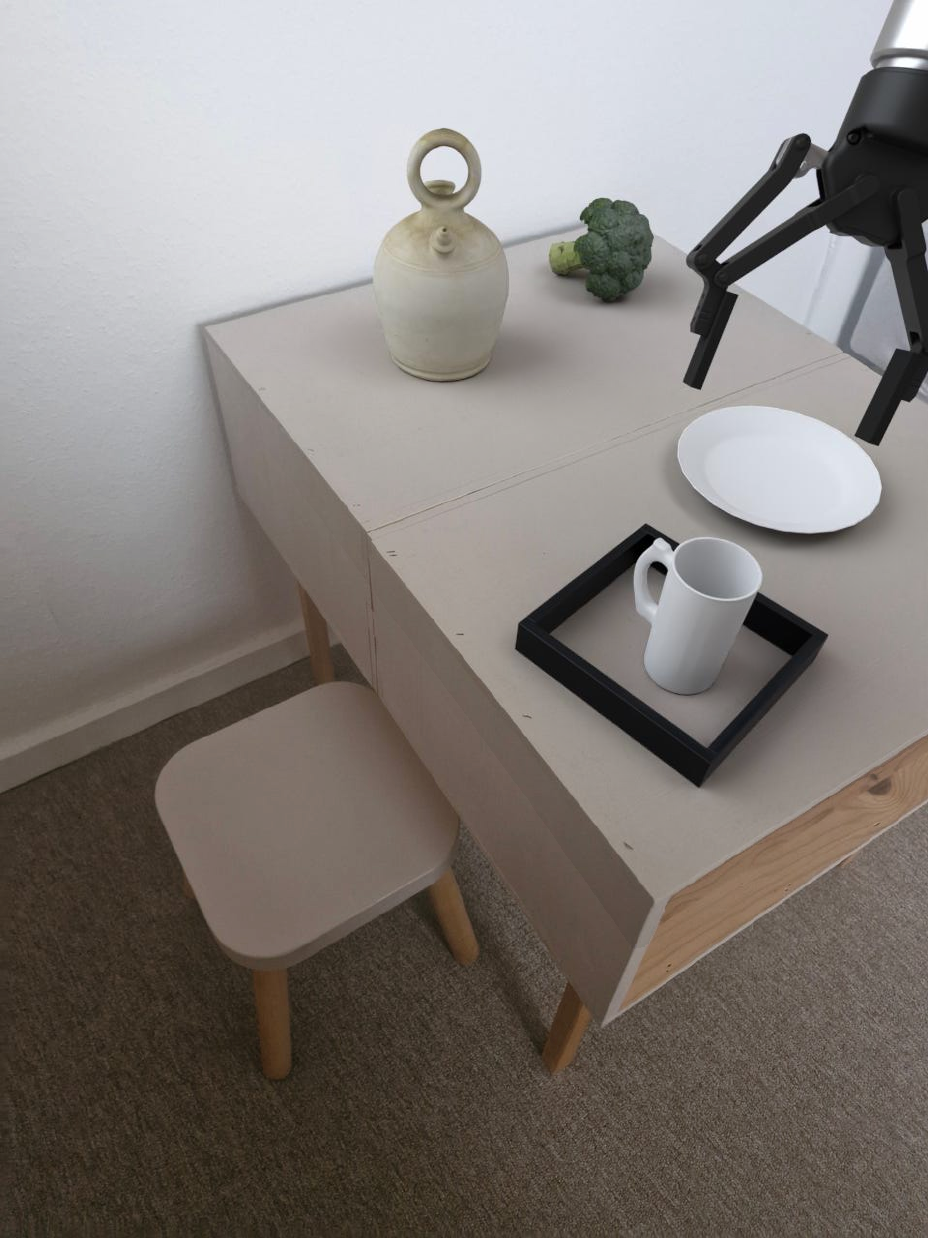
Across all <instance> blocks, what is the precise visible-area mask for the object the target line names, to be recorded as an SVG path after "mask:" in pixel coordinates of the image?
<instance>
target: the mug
mask: <svg viewBox="0 0 928 1238" xmlns="http://www.w3.org/2000/svg"><path fill="white" fill-rule="evenodd" d="M679 544H680V545H679V546H678V547H677V548H676V549H675V551H674V552H673V551H672V549H671V546H670V545H669V544H668V543H667V542H665V541H664V540H663V539H662V538H658V539H656V540H655V541H654V543H653V545H652V546H651V547H649V548H648V549H647V550H646V551H645V552H644V553H643V554H642V555H641V556H640V557H639V559H638V561H637V563H636V564H635V565H634V566H635V567H634V571H633V572H634V573H633V591H634V602H635V610H636V612H637V613H638V614H639V615H640V616H641V617H643V618H644V619H646V621H647V622H648V623H649V624H650V626H651V629H650V633H649V636H648V640H647V643H646V644H647V645H646V647H645V650H644V651H645V652H644V656H643V664H644V669H645V671H646V673H647V675H648V677H650V679H651V680H652V681H653V682H654V683H655V684H656V685H658V686H659V687H661V689H664V690H666V691H668V692H671V693H673V694H677V695H685V696H686V695H696V694H697V695H698V694H700V693H703V692H705V691H707V690H708V689H709V688H710V687H712V685H713V684H714V683H715V681H716V679H717V678H718V675H719V673H720V671H721V669H722V667H723V666H724V664H725V661H726V659H727V657H728V655H729V652H730V651H731V649H732V646H733V645H734V642H735V640H736V638H737V636H738V635H739V632H740V631H741V628H742V626H743V625H742V624H743V622H744V619H745V617H746V615H747V613H748V611H749V609H750V607H751V605H752V603H753V601H754V598H755V596H756V594H757V592H759V589H760V588H761V586H762V583H763V579H764V578H763V577H764V576H763V571H762V568H761V565H760V564H759V562H758V561H757V559H756V558H755V557H754V556H753V554H752V553H750V552H749V551H748V550H747V549H745V548H744V547H743V546H741V545H739V544H737V543H735V542H733V541H731V540H727V539H723V538H719V537H715V536H714V537H713V536H699V537H694V538H690V539H687V540H685V541H683V542H681V543H679ZM654 561H659V562H661V563H663V564H664V565H665V566H666V567H667V569H668V573H667V576H666V575H665V576H666V577H665V580H664V583H663V587H662V590H661V593H660V597H659V600H658V604H657V603H656V602H655V601H654V600H653V598H652V596H651V594H650V591H649V588H648V571H649V568H650V567H651V566H650V564H651V563H652V562H654Z"/></svg>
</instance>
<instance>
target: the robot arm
mask: <svg viewBox="0 0 928 1238" xmlns="http://www.w3.org/2000/svg"><path fill="white" fill-rule="evenodd" d="M888 10H889V11H888V13H887V14H886V18H885V19H884V23H883V25H882V27H881V29H880V32H879V35H878V37H877V39H876V41H875V44H874V46H873V49H872V51H871V54H870V55H869V62H870V66H871V67H872V68H873V69H870V70H869V71H867V72H866V73H865V74H863V75H862V76H861V77H860V80H859V82H858V84H857V87H856V89H855V92H854V93H853V95H852V98H851V101H850V104H849V106H848V109H847V111H846V113H845V116H844V118H843V121H842V123H841V125H840V127H839V129H838V133H837V135H836V139H835V141H834V142H833V144H832V146H831V147H830V148H828V150H826V149H824V148H822V147H820V146H818V145H816V144H814V143H813V142H812V139H811V138H812V137H811V136H810V135H809V134H808V133H805V132H802V133H798V134H796V135H793V136H790V137H788V138H785V140H783V141H782V143H781V144H780V146H779V148H778V150H777V152H776V153H775V156H774V158H773V159H772V162H771V164H770V166H769V168H768V170H767V171H766V172H765V173H764V174H763V175H762V176H761V177H760V179H759V180H758V181H757V182H756V183H755V184H754V185H753V186H752V187H751V188H749V190H748V191H747V192H745V194H744V195H743V196H742V197H741V198H740V199H739V200H738V201H737V202H736V203H735V204H734V205H733V207H731V208H730V209H729V211H728V212H726V214H725V215H724V216H723V217H722V218H721V219H720V220H719V221H718V222H717V223H716V224H715V225H714V226H713V227H712V229H710V231H708V233H707V234H706V235H705V236H704V237H703V238H702V239H701V240H700V241H699V242H698V243H697V244H696V245H695V246H694V247H693V249H692V250H691V251H689V253H688V254H687V256H686V257H685V264H686V266H687V268H689V269H690V270H693V271H694V273H696V275H698V276H699V277H700V278H701V279H702V281H703V289H702V292H701V295H700V297H699V300H698V302H697V305H696V308H695V310H694V312H693V315H692V318H691V321H690V322H689V332H690V333H692V334H695V335H698V336H699V338H698V340H697V343H696V345H695V347H694V348H695V349H694V351H693V353H692V355H691V356H692V357H691V359H690V361H689V364H688V366H687V369H686V372H685V374H684V377H683V380H682V383H684V384H685V385H687V386H688V387H689V388H692V389H695V390H698V391H701V390H702V388H703V386H704V383H705V380H706V378H707V376H708V373H709V371H710V368H711V365H712V363H713V360H714V358H715V356H716V353H717V351H718V348H719V345H720V343H721V341H722V338H723V335H724V333H725V330H726V327H727V325H728V322H729V320H730V319H731V318H730V317H731V315H732V313H733V311H734V308H735V305H736V303H737V300H738V297H739V294H737V293H734V292H731V291H728V288H729V287H730V286H731V285H733V284H734V283H736V282H737V281H739V280H740V279H742V278H744V277H745V276H746V275H748V274H749V273H751V272H753V271H755V270H756V269H758V268H759V267H760V266H763V265H764V264H765V263H767V262H769V261H770V260H771V259H773V258H775V257H776V256H778V255H779V254H780V253H782V252H784V251H785V250H787V249H789V248H790V247H792V246H793V245H795V244H796V243H797V242H799V241H801V240H802V239H804V238H806V237H807V236H809V235H810V234H812V233H813V232H815V231H817V230H820V229H821V228H823V227H826V228H827V229H828V230H829V234H832V235H835V236H838V237H851V238H853V239H854V240H855V241H857V242H858V243H859V244H862V245H864V246H867V247H870V248H878V247H881V248H883V251H884V255H885V258H886V259H887V260H888V262H889V264H890V268H891V273H892V275H893V281H894V284H895V289H896V294H897V298H898V303H899V307H900V312H901V316H902V320H903V324H904V328H905V333H906V337H907V342H908V346H909V350H906V349H901V348H897V347H896V348H895V350H894V351H893V354H892V355H891V358H890V360H889V362H888V364H887V366H886V368H885V370H884V373H883V375H882V376H881V379H880V380H879V383H878V385H877V387H876V389H875V391H874V393H873V395H872V398H871V400H870V402H869V404H868V406H867V407H866V410H865V413H863V414H864V415H863V416H862V418H861V420H860V423H859V425H858V427H857V429H856V430H855V433H854V435H853V436H854V438H855V437H856V438H858V439H859V440H861V441H864V442H866V443H868V444H870V445H874V446H876V447H880V444H881V443H882V441H883V438H884V436H885V434H886V432H887V430H888V428H889V426H890V424H891V422H892V420H893V419H894V416H895V414H896V412H897V410H898V408H899V406H900V404H901V402H902V401H903V402H906V403H911V402H912V401H913V400H914V399H915V398H916V397H917V395H918V393H919V390H920V388H921V387H922V386H923V383H924V381H925V379H926V377H927V375H928V264H927V260H926V259H927V258H926V252H927V241H926V238H925V232H924V228H923V223H925V222H926V221H928V0H893V1H892V3H891V6H890V8H889V9H888ZM812 169H814V170H815V178H816V184H817V189H818V195H819V197H818V198H816V199H815V200H814V201H812V202H810V203H809V204H807V205H806V206H805V207H803V208H801V209H800V210H798V211H797V212H796V213H794V215H792V216H791V217H789V218H788V219H787V220H785V221H784V222H782V223H780V224H778V225H777V226H775V227H774V228H772V229H770V230H769V231H768V232H767V233H765V234H764V235H762V236H760V237H759V238H757V239H756V240H754V241H753V242H751V243H749V244H748V245H747V246H745V247H744V248H742V249H741V250H739V251H737V252H736V253H734V254H732V255H731V256H730V257H728V258H727V259H726V260H724V261H722V262H721V263H720V262H719V261H718V260H717V259H718V258H719V257H720V256H721V255H722V254H723V253H724V252H725V251H726V250H727V249H728V247H729V246H730V245H731V244H733V243H734V242H735V240H736V239H738V238H739V236H741V234H742V233H743V232H744V231H745V230H746V229H747V228H748V227H749V226H750V225H751V224H752V223H753V222H754V221H755V220H756V219H757V218H758V217H759V216H760V215H761V214H762V213H763V212H764V211H765V210H766V208H768V206H770V204H771V203H772V202H773V201H774V200H776V198H777V197H778V196H779V195H780V194H781V193H782V192H783V191H784V190H785V189H786V188H787V187H788V186H789V184H790V183H791V182H792V181H793V180H795V179H801V178H803V177H804V176H806V175H807V174H808V173H809V171H811V170H812Z"/></svg>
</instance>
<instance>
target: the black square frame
mask: <svg viewBox="0 0 928 1238" xmlns="http://www.w3.org/2000/svg"><path fill="white" fill-rule="evenodd" d="M658 538H662V539H663V540H664V541H665V542H667V543H668V544H669V545H670V546H671V549H672V551H673V552H674V551H675V549H676V548H677V547H678V546H679V545H680V544H681V543H679V542H678V541H676V540H674V539H673V538H671V537H669V536H668V535H667V534H665V533H663V532H661V531H660V530H658V529H657V528H655V527H653V526H652V525H650V524H648V523H647V522H645V523H644V524H642V525H641V526H640V527H639V528H637V529H636V530H635V531H634V532H632V533H631V534H630V535H629V536H628V537H626V538H625V539H623V540H622V541H621V542H620V543H618V544H617V545H616V546H614V547H613V548H612V549H611V550H609V551H608V552H607V553H606V554H605V555H603V556H601V558H599V559H597V561H595V562H594V563H593V564H591V565H590V566H589V567H587V568H586V569H585V570H584V571H583V572H582V573H579V575H577V576H576V577H575V578H574V579H572V580H571V581H569V582H568V583H567V584H566V585H564V586H563V587H562V588H561V589H559V591H557V592H556V593H554V594H553V595H551V597H549V598H548V599H547V600H545V601H543V603H542V604H540V605H539V606H538V607H536V608H535V609H534V610H533V611H531V612H530V613H529V614H527V616H525V617H524V618H523V619H521V620H520V621H519V622H517V623H518V624H517V630H516V638H515V645H514V650H515V651H517V652H518V653H519V654H521V655H522V656H523V657H524V658H526V659H527V660H529V661H530V662H531V663H533V664H534V665H535V666H536V667H538V668H539V669H540V670H542V671H543V672H545V673H546V674H547V675H548V676H549V677H551V678H552V679H554V680H555V681H556V682H557V683H559V684H560V685H561V686H563V687H564V688H565V689H567V690H568V691H570V693H573V694H574V695H575V696H576V697H577V698H579V699H580V700H581V701H583V702H584V703H586V704H587V705H588V706H590V707H591V708H592V709H593V710H595V711H596V712H597V713H599V714H600V715H601V716H602V717H604V718H605V719H606V720H608V721H610V722H611V723H612V724H613V725H615V726H616V727H617V728H618V729H620V730H621V731H622V732H624V733H625V734H627V735H628V736H629V737H630V738H632V739H633V740H634V741H636V742H637V743H638V744H639V745H641V746H643V747H644V748H645V749H646V750H647V751H649V752H650V753H652V754H653V755H654V756H656V757H657V758H659V759H660V760H661V761H663V762H664V763H665V764H666V765H668V767H670V768H671V769H673V770H675V771H676V772H677V773H678V774H679V775H681V776H682V777H684V778H685V779H686V780H688V781H689V782H690V783H692V785H694V786H696V788H700V787H701V786H702V785H703V784H704V783H705V782H706V781H707V780H708V779H709V778H710V776H711V775H712V774H713V773H714V772H715V771H716V770H717V769H718V768H719V766H720V765H722V763H723V762H724V761H725V760H726V759H727V758H728V757H729V755H730V754H732V752H734V749H736V748H737V747H738V746H739V744H740V743H741V742H742V741H743V740H744V739H745V738H746V737H747V736H748V734H750V732H751V731H753V729H754V728H755V727H756V725H758V723H760V721H761V720H762V719H763V718H764V717H765V716H766V715H767V713H769V711H770V710H771V709H772V708H773V707H774V706H775V705H776V704H777V703H778V701H779V700H780V699H781V698H782V697H783V696H784V695H785V694H786V693H787V691H788V690H789V689H790V688H791V687H792V686H793V685H794V684H795V682H797V681H798V680H799V678H800V677H801V676H802V675H803V674H804V672H805V671H806V670H807V669H808V668H809V667H810V666H811V665H812V664H813V663H814V662H815V661H816V659H817V657H818V655H819V653H820V651H821V650H822V648H823V647H824V644H825V643H826V642H827V639H828V638H829V634H828V633H827V632H825V631H823V630H822V629H820V628H818V627H817V626H816V625H814V624H812V623H810V622H809V621H807V620H806V619H804V618H802V617H800V616H798V615H797V614H796V613H794V612H792V611H791V610H789V609H787V608H786V607H784V606H782V605H780V604H779V603H778V602H776V601H775V600H772V599H771V598H769V597H767V596H766V595H764V594H763V593H762V592H760V591H758V592H757V594H756V596H755V598H754V601H753V603H752V605H751V607H750V609H749V611H748V613H747V615H746V617H745V619H744V622H743V624H742V626H743V627H746V628H747V629H748V630H750V631H752V632H754V633H755V634H756V635H758V636H759V637H762V638H763V639H765V640H766V641H767V642H769V643H771V644H772V645H774V646H776V648H779V649H780V650H781V651H783V652H785V653H787V654H788V655H789V656H791V657H790V658H789V659H788V660H787V662H785V664H783V665H782V667H781V668H780V669H779V670H778V671H777V672H776V673H775V674H774V675H773V677H772V678H771V679H769V681H768V682H767V683H766V684H765V685H764V686H763V687H762V688H761V690H759V692H757V694H755V696H754V697H753V698H752V699H751V700H750V701H749V702H748V703H747V704H746V705H745V707H744V708H743V709H742V710H741V711H740V712H739V713H738V714H737V715H736V716H735V717H734V718H733V719H732V721H730V722H729V724H728V725H726V727H725V728H724V729H723V730H722V731H721V732H720V733H719V734H718V735H717V736H716V737H715V739H714V740H713V741H712V742H711V743H710V744H709V745H708V746H707V747H705V746H704V745H703V744H702V743H700V742H699V741H697V740H696V739H695V738H693V736H690V734H688V733H686V732H685V731H684V730H682V729H681V728H679V727H678V726H677V725H676V724H674V723H672V722H671V721H670V720H668V718H666V717H665V716H663V715H662V714H661V713H659V712H658V711H656V710H655V709H654V708H652V707H651V706H649V705H648V704H646V702H643V701H642V700H641V699H640V698H639V697H637V696H635V695H634V694H633V693H631V692H630V691H629V690H628V689H626V688H625V687H623V686H622V685H620V684H619V683H618V682H616V681H615V680H614V679H613V678H611V677H610V676H608V675H607V674H605V673H604V672H603V671H601V670H600V669H599V668H597V667H596V666H595V665H593V664H591V663H590V662H589V661H588V660H586V659H585V658H584V657H582V656H581V655H579V654H578V653H577V652H575V651H573V649H571V648H569V647H568V646H567V645H565V644H564V643H563V642H562V641H560V640H558V639H557V638H556V637H554V636H553V635H552V634H551V633H552V632H553V631H555V630H556V629H557V628H559V627H560V626H561V625H562V624H563V623H565V622H566V621H567V620H568V619H570V618H571V617H572V616H573V615H574V614H576V613H577V612H579V610H581V609H582V608H583V607H584V606H586V605H587V604H588V603H589V602H590V601H592V600H593V599H595V598H596V597H597V596H598V595H599V594H600V593H601V592H603V591H604V590H605V589H606V588H607V587H609V586H611V584H613V583H614V582H615V581H616V580H617V579H618V578H620V577H621V576H622V575H623V574H625V573H626V572H627V571H629V570H630V569H631V568H632V567H633V566H636V563H637V561H638V559H639V557H640V556H641V555H642V554H643V553H644V552H645V551H646V550H647V549H648V548H649V547H651V546H652V545H653V543H654V541H655V540H656V539H658ZM649 567H652V568H653V569H654V570H656V571H658V572H659V573H661V574H662V575H663V576H667V573H668V569H667V567H666V566H665V565H664V564H663V563H661V562H659V561H654V562H652V563H651V564H650V566H649Z"/></svg>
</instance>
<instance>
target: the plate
mask: <svg viewBox="0 0 928 1238" xmlns="http://www.w3.org/2000/svg"><path fill="white" fill-rule="evenodd" d="M678 439H679V440H678V442H677V455H676V456H677V460H678V463H679V465H680V466H679V467H680V469H681V471H682V473H683V475H684V476H685V478H686V479H687V480H688V482H689V483H690V484H691V486H692V487H693V489H695V490H696V491H697V492H698V493H699V494H700V495H701V496H703V498H704V499H706V500H707V501H708V502H709V503H710V504H712V505H714V506H716V507H717V508H719V509H720V510H723V511H724V512H726V513H728V514H729V515H731V516H733V517H735V518H737V519H740V520H743V521H744V522H748V523H750V524H753V525H755V526H759V527H763V528H767V529H771V530H775V531H779V532H784V533H793V534H794V533H796V534H808V535H811V534H823V533H833V532H837V531H840V530H843V529H847V528H850V527H853V526H855V525H857V524H859V523H860V522H861V521H863V520H865V519H866V518H868V517H869V516H871V514H872V513H873V512H874V510H875V509H876V508H877V506H878V505H879V504H880V499H881V495H882V490H883V486H882V481H881V475H880V471H879V470H878V469H877V467H876V465H875V463H874V462H873V460H872V458H871V457H870V455H868V453H867V452H866V451H865V450H864V449H863V448H862V447H861V446H860V445H859V444H858V443H857V442H856V441H855V440H853V439H851V438H850V437H849V436H848V435H846V434H844V432H842V431H840V430H839V429H837V428H835V427H833V426H831V425H829V424H828V423H825V422H823V421H821V420H819V419H817V418H815V417H811V416H809V415H806V414H802V413H799V412H797V411H793V410H788V409H784V408H778V407H774V406H763V405H740V406H727V407H723V408H719V409H715V410H711V411H709V412H707V413H705V414H703V415H701V416H699V417H697V418H695V419H694V420H692V422H691V423H689V425H688V426H687V427H685V428H684V429H683V431H682V433H681V436H680V437H679V438H678Z"/></svg>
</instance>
